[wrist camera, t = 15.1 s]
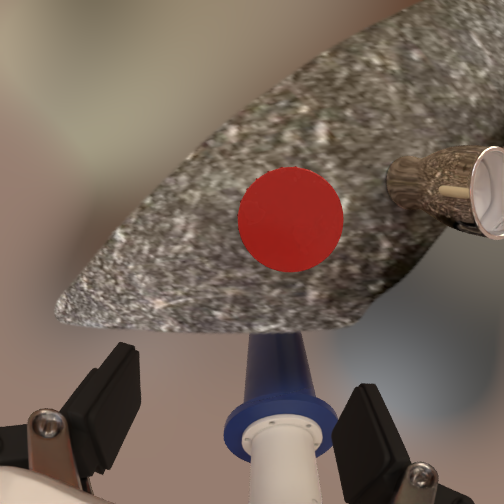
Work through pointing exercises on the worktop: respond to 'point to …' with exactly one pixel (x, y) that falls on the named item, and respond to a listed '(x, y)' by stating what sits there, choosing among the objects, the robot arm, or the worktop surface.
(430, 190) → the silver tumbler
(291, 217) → the red lid
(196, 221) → the worktop surface
